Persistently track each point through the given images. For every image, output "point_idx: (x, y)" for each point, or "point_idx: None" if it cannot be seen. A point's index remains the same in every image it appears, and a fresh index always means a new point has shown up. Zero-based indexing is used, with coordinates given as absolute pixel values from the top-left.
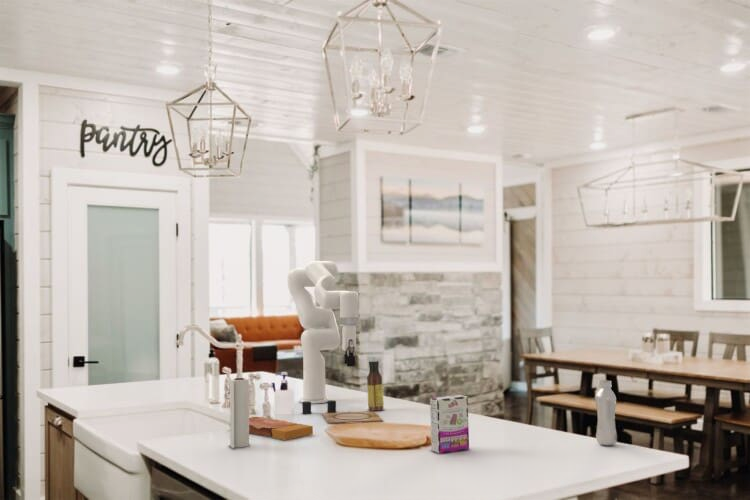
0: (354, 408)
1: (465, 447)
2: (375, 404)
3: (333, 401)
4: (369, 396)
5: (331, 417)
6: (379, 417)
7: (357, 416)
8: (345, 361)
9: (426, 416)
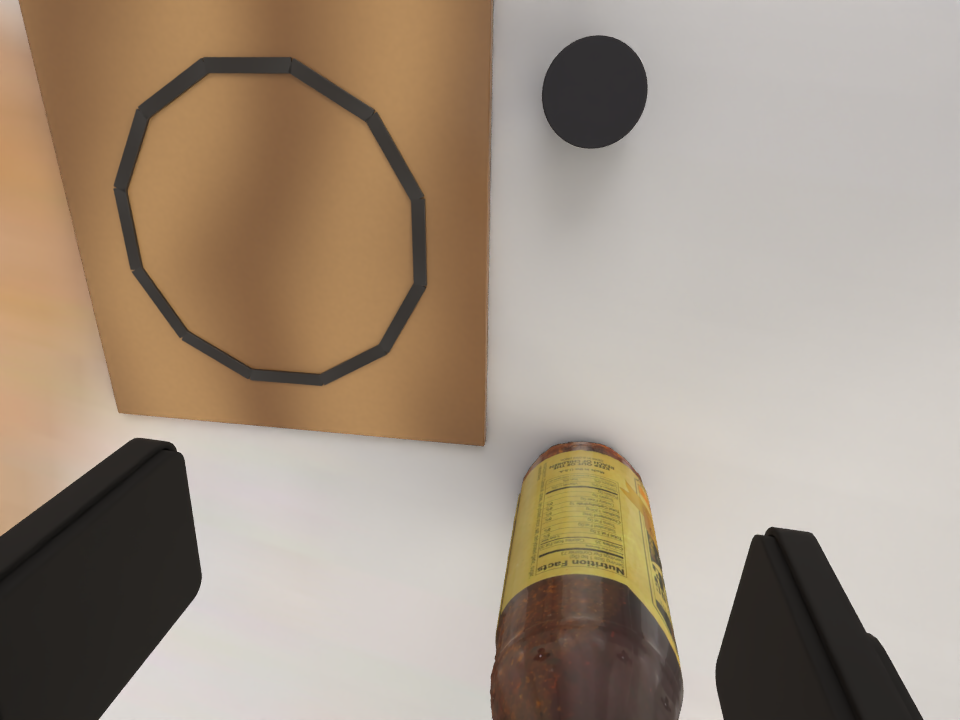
0: (734, 350)
1: None
2: (519, 500)
3: (551, 111)
4: (550, 504)
5: (235, 39)
6: (206, 418)
7: (261, 278)
8: (767, 577)
9: (276, 669)
